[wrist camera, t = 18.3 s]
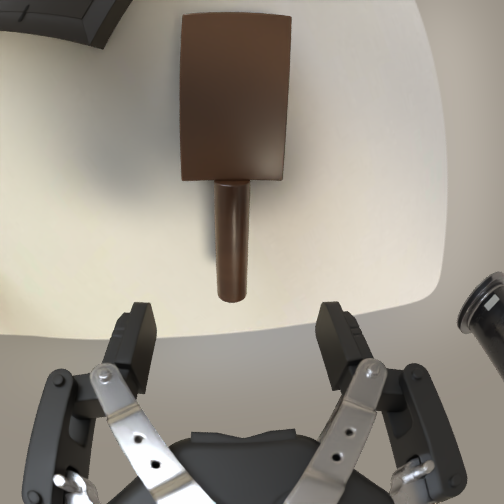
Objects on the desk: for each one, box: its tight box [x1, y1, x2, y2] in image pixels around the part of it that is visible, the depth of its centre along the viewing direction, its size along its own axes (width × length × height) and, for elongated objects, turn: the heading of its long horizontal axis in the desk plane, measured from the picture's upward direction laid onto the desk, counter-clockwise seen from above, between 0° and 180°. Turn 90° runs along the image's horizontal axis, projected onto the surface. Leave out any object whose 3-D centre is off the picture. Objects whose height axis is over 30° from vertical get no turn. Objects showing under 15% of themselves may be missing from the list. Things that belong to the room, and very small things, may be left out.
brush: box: [180, 12, 292, 303], centre depth 15 cm, size 18×6×4 cm, turn 178°
